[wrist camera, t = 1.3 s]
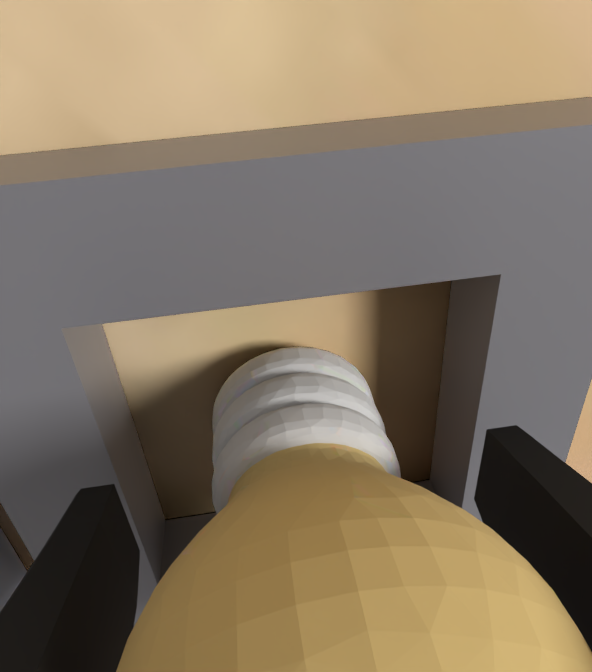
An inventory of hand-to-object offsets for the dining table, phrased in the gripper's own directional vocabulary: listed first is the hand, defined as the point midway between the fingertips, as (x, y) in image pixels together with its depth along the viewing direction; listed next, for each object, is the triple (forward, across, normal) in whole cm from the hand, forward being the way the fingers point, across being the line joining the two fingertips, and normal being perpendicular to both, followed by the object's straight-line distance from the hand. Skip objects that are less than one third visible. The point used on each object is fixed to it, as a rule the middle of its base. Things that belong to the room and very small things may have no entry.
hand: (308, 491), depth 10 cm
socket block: (+3, 0, 0) cm, 3 cm away
